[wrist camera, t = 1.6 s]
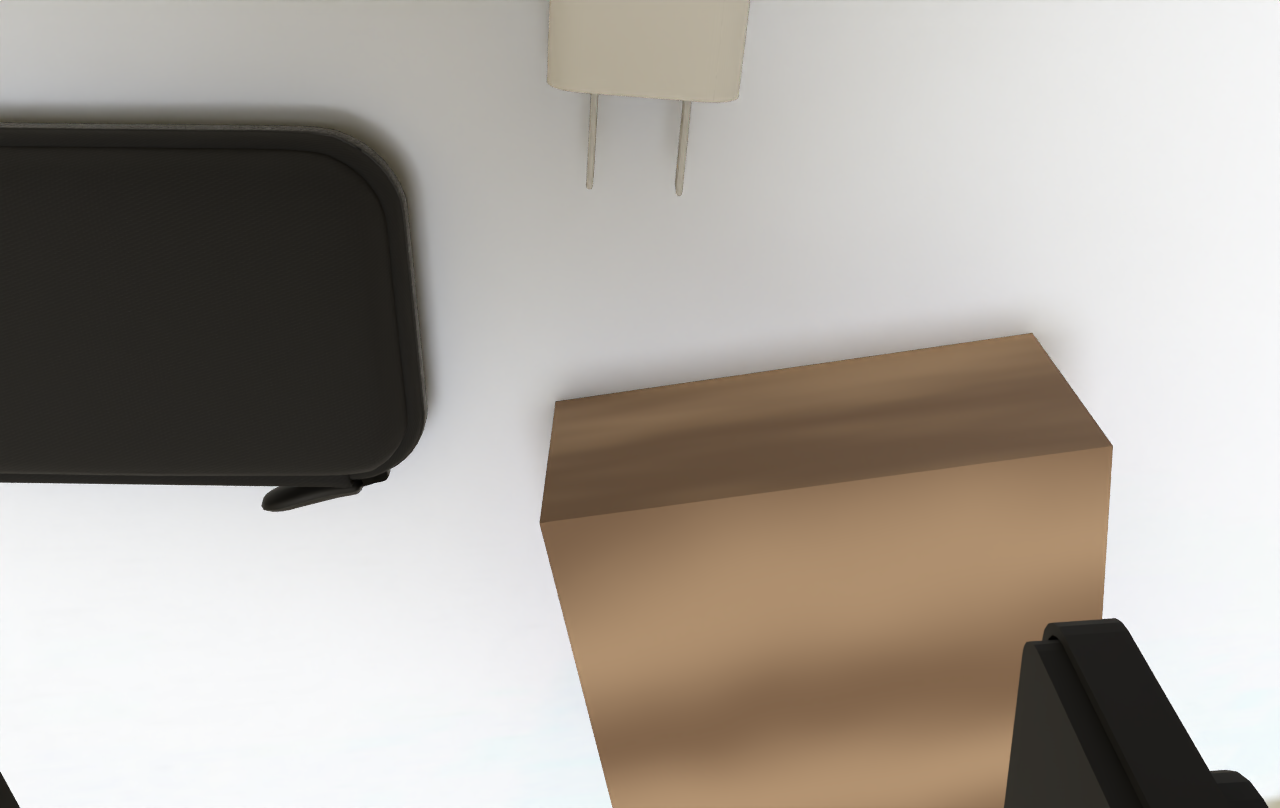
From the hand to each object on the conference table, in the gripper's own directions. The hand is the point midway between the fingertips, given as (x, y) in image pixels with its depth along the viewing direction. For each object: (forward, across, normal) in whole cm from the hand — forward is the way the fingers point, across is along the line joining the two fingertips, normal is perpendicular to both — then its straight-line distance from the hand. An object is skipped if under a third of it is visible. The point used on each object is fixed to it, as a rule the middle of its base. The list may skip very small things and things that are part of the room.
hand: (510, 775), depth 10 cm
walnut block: (+20, -5, +13) cm, 24 cm away
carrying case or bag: (+20, +12, +4) cm, 24 cm away
